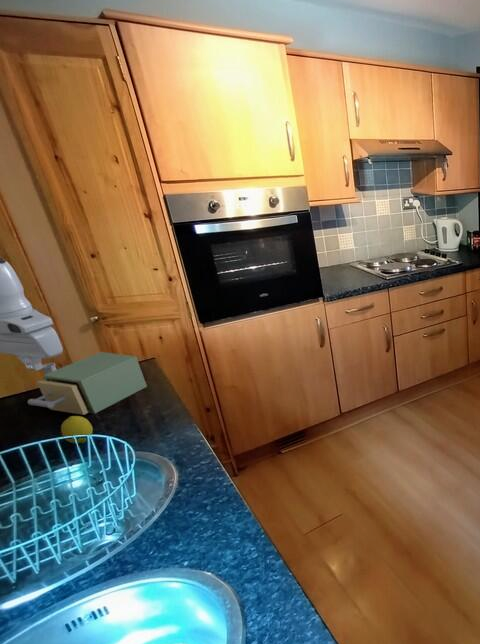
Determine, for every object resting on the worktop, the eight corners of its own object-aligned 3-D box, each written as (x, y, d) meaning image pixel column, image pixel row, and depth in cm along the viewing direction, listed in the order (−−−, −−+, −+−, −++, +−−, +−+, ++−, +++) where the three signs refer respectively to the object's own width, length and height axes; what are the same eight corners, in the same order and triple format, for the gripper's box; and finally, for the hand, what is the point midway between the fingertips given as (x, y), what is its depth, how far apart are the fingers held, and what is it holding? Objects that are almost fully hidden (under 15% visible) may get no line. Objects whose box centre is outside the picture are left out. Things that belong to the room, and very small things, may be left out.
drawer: (63, 425, 121) (50, 396, 117) (28, 419, 123) (14, 391, 120) (134, 389, 138) (124, 363, 134) (102, 384, 140) (92, 359, 137)
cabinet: (94, 413, 127) (80, 380, 123) (58, 407, 130) (42, 375, 126) (147, 386, 141) (136, 356, 137) (112, 381, 144) (100, 351, 140)
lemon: (62, 448, 113) (49, 421, 110) (86, 435, 118) (74, 409, 115) (79, 451, 112) (66, 424, 109) (102, 438, 117) (91, 412, 114)
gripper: (-35, 321, 112) (-9, 370, 118) (26, 328, 108) (51, 378, 113) (-4, 312, 118) (20, 359, 123) (56, 318, 114) (78, 367, 119)
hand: (35, 368), depth 118 cm, fingers closed
